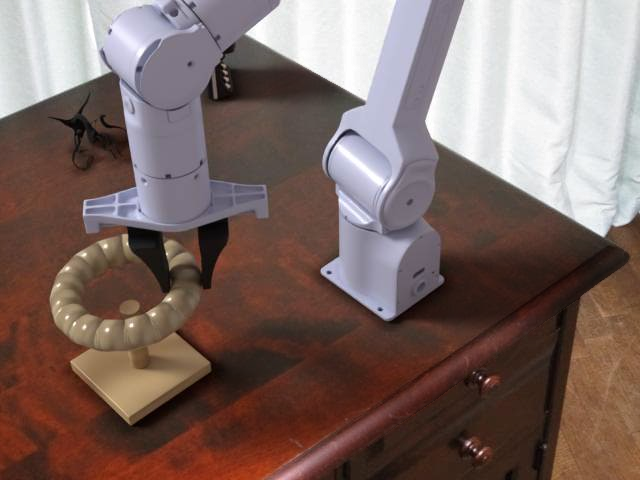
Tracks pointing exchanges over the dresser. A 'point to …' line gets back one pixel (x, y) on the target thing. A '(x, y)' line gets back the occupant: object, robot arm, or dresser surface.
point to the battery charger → (221, 78)
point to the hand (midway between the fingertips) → (186, 283)
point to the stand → (141, 372)
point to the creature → (88, 131)
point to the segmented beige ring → (134, 329)
